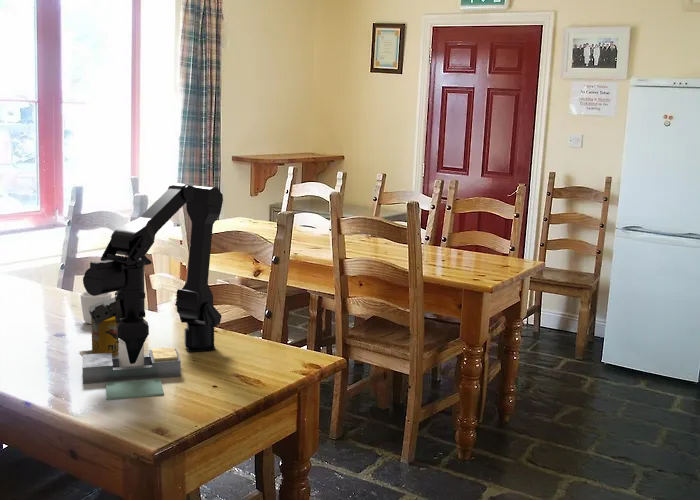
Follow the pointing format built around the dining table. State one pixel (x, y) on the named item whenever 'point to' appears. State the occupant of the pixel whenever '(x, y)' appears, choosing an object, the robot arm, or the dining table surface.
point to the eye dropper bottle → (125, 359)
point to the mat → (134, 389)
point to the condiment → (104, 338)
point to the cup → (91, 303)
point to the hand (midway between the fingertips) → (131, 357)
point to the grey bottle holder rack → (108, 369)
